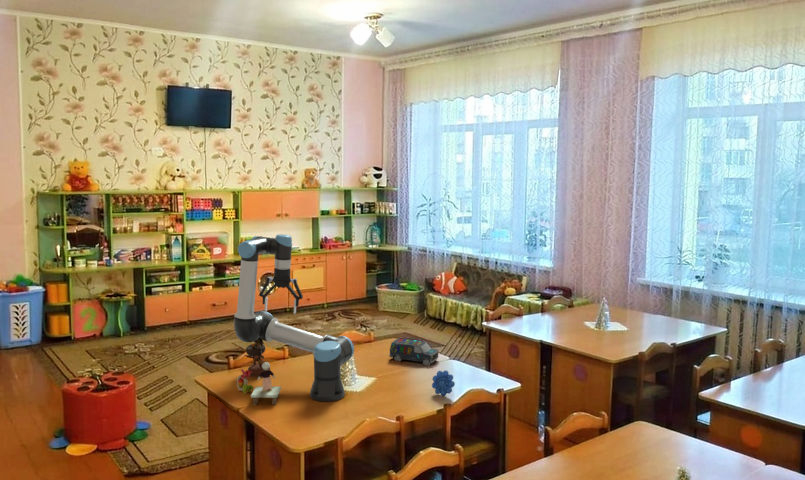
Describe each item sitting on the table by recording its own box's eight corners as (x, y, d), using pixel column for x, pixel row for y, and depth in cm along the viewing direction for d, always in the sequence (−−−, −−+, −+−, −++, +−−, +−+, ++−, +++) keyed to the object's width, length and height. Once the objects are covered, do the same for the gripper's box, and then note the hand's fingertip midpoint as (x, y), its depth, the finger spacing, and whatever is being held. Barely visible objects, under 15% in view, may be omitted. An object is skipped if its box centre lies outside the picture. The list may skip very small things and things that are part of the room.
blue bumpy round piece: (459, 396, 294) (459, 369, 293) (451, 400, 289) (451, 373, 288) (437, 390, 301) (437, 365, 300) (429, 394, 296) (429, 368, 294)
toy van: (432, 366, 337) (432, 347, 336) (388, 360, 347) (388, 341, 346) (439, 360, 347) (439, 342, 345) (396, 354, 357) (396, 336, 355)
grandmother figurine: (271, 387, 290) (271, 359, 288) (276, 390, 287) (275, 361, 285) (256, 391, 285) (255, 363, 283) (260, 394, 282) (260, 365, 280)
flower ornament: (234, 397, 296) (246, 393, 291) (227, 373, 297) (239, 369, 292) (245, 393, 301) (257, 389, 296) (238, 370, 302) (250, 365, 297)
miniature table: (280, 396, 292) (280, 386, 291) (277, 405, 281) (277, 395, 280) (255, 396, 292) (255, 386, 291) (251, 405, 281) (250, 395, 280)
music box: (278, 370, 323) (270, 334, 317) (261, 381, 314) (253, 344, 308) (256, 365, 331) (248, 329, 325) (240, 375, 323) (231, 338, 317)
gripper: (310, 268, 311) (307, 311, 314) (257, 264, 311) (255, 308, 314) (308, 271, 304) (305, 315, 307) (253, 267, 303) (252, 312, 306)
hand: (280, 312), depth 310 cm, fingers open, 13 cm apart
